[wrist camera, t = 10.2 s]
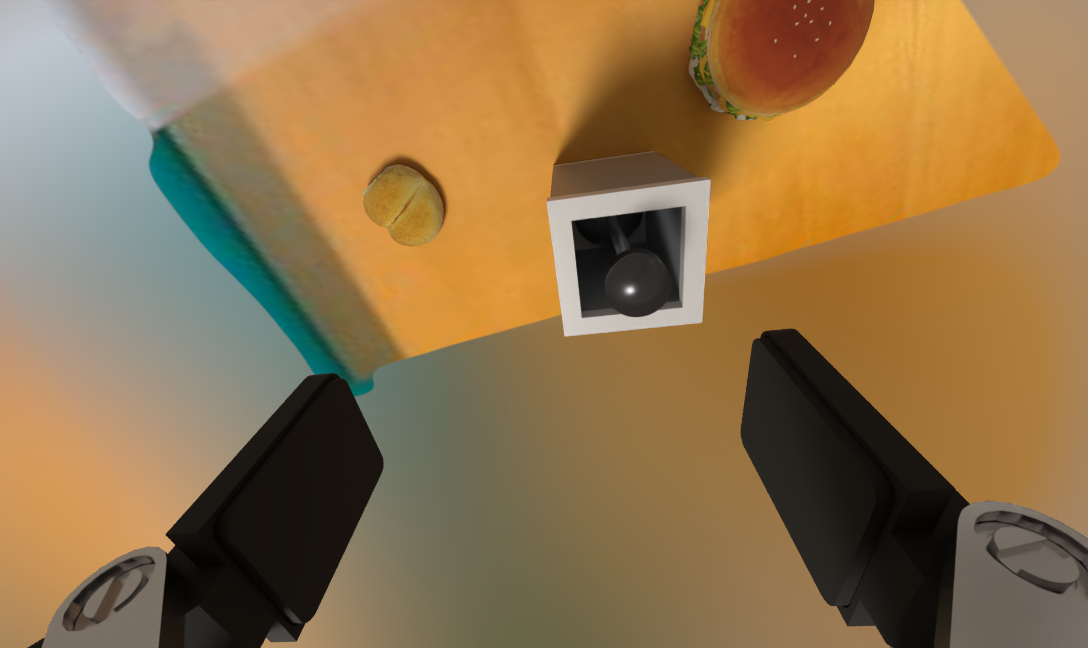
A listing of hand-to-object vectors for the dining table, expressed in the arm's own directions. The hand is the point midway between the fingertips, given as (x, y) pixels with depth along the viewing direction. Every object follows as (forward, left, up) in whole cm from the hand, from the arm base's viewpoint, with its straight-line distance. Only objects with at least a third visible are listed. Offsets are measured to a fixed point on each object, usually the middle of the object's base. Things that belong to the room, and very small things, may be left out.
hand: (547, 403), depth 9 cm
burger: (-20, -8, -41) cm, 46 cm away
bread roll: (+18, +3, -41) cm, 45 cm away
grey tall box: (-5, +6, -40) cm, 41 cm away
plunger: (-5, +6, -39) cm, 39 cm away
